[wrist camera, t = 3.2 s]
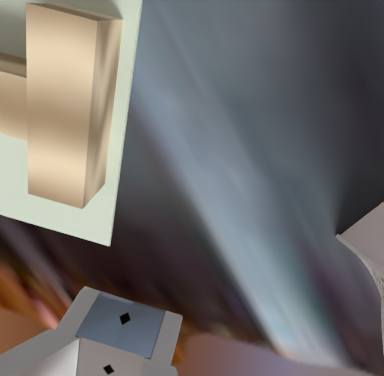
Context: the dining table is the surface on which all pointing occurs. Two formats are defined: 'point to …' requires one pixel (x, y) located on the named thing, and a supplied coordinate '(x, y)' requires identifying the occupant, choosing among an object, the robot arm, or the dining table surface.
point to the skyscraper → (369, 247)
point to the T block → (63, 99)
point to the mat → (106, 197)
